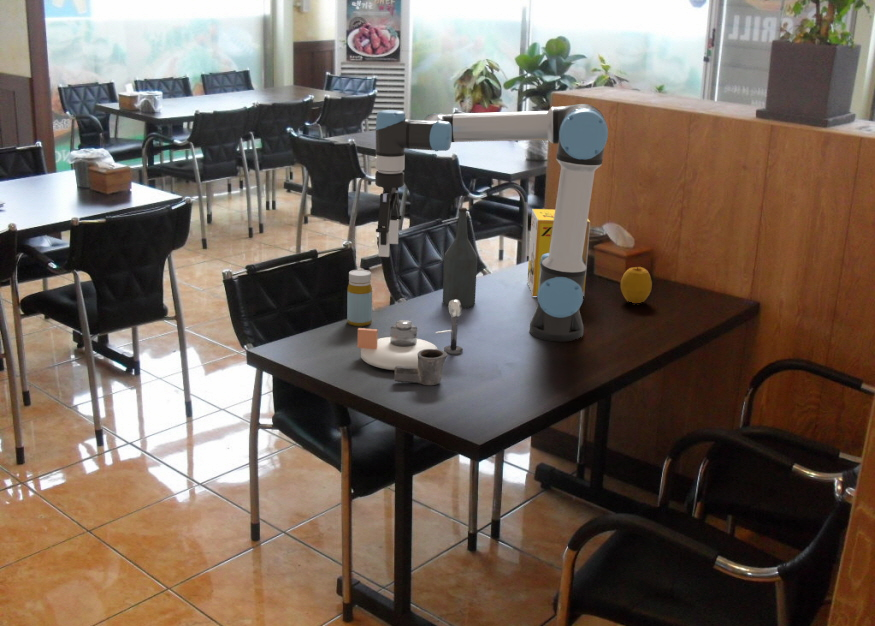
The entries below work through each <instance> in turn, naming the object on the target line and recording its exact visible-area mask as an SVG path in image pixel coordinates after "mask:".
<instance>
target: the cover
mask: <svg viewBox="0 0 875 626" xmlns="http://www.w3.org/2000/svg"><path fill="white" fill-rule="evenodd" d="M389 333H390V336H389V337H390V343H391V344H392V345H395V346H399V347H410V346H414V345H415V344H416V343H417V339H418V327H417V326H416V325H414V324H413V323H412V321H411V320H407V319H399V320H397V321H396V324H392V325H391V326H390V332H389Z"/></svg>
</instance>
